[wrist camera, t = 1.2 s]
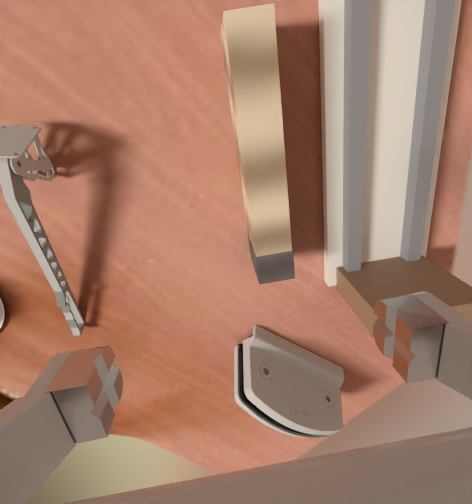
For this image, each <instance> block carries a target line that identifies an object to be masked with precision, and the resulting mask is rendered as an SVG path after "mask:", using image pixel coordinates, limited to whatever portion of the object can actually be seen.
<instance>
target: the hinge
mask: <svg viewBox="0 0 472 504" xmlns="http://www.w3.org/2000/svg"><path fill="white" fill-rule="evenodd" d="M343 382H344V372H343V368H342V367H340V366H338V365H336V364H334V363H332V362H330V361H328V360H326V359H324V358H322V357H320V356H318V355H316V354H314V353H312V352H310V351H308V350H306V349H304V348H302V347H300V346H298V345H296V344H294V343H292V342H290V341H288V340H285V339H283V338H281V337H279V336H277V335H275V334H273V333H271V332H269V331H267V330H265V329H263V328H261V327H259V326H257V325H255V326H254V327H253V336H252V337H250V338H247V339H245V340H243V347H242V346H239V345H237V346H236V347H235V349H234V398H235V401H236V402H237V404H238V405H239V406H240V407H242V408H243V409H244V410H245V411H246V412H247V413H249V414H250V415H251V416H252V417H254V418H255V419H257V420H258V421H260V422H261V423H263V424H265V425H266V426H268V427H270V428H272V429H274V430H276V431H279V432H281V433H284V434H287V435H291V436H296V437H310V438H318V437H324V436H328V435H330V434H334V433H336V432H338V431H339V430H341V429H342V426H343V420H342V406H341V391H340V388H341V386H342V384H343Z"/></svg>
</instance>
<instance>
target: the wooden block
mask: <svg viewBox="0 0 472 504" xmlns="http://www.w3.org/2000/svg"><path fill="white" fill-rule="evenodd" d="M220 35H221V42H222V49H223V56H224V63H225V70H226V78H227V85H228V92H229V99H230V106H231V113H232V121H233V128H234V135H235V142H236V149H237V156H238V164H239V171H240V178H241V185H242V192H243V199H244V206H245V214H246V221H247V228H248V238H249V245H250V252H251V259H252V262H253V265H254V268H255V272H256V275H257V278H258V281H259V284H264V283H270V282H276V281H282V280H287V279H293V278H295V273H294V259H293V251H292V242H291V228H290V215H289V201H288V188H287V174H286V161H285V147H284V133H283V120H282V106H281V93H280V79H279V66H278V52H277V39H276V25H275V11H274V3H272V4H266V5H260V6H253V7H247V8H241V9H234V10H228V11H224V13H223V20H222V27H221V34H220Z"/></svg>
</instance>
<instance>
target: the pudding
mask: <svg viewBox="0 0 472 504" xmlns="http://www.w3.org/2000/svg"><path fill="white" fill-rule="evenodd" d="M4 314H5V312H4V306H3V303H2V301H1V298H0V328H1V327H2V325H3V322H4Z"/></svg>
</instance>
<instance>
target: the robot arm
mask: <svg viewBox="0 0 472 504" xmlns="http://www.w3.org/2000/svg"><path fill="white" fill-rule="evenodd" d="M374 313H375V314H376V316H377V317H378V319H377V320H376V322H375V323H374V324H373V335H374V338H375V342H376V344H377V346H378V348H379V350H380V351H381V352H382V353H383V355H385V356H387V357H389V358H391V359H393V367H394V368H395V369H396V371H397V372H398V373H399V374H400V375H401V377H402V378H403V379H404V380H405V381H406V383H411V382H418V381H424V380H431V379H437V380H438V381H440V382H441V383H443V384H445V385H447V386H449V387H450V388H452V389H454V390H456V391H457V392H459V393H461V394H463V395H464V396H466V397H468V398H470V399H471V400H472V319H471V320H469V319H468V318H466V317H465V316H463V315H462V314H460V313H459V312H457V311H456V310H454V309H453V308H451V307H450V306H448V305H447V304H445V303H444V302H443V301H441V300H440V299H438V298H437V297H435V296H434V295H432V294H431V293H429V292H425V291H423V292H418V293H413V294H408V295H405V296H400V297H394V298H389V299H383V300H378V301H376V302H375V305H374ZM114 358H115V355H114V352H113V350H112V348H111V347H109V346H102V347H96V348H89V349H82V350H75V351H69V352H63V353H58V354H56V355H54V356H53V357H52V358H51V360H50V361H49V362H48V364H47V365H46V367H45V368H44V369H43V371H42V372H41V373H40V375H39V376H38V378H37V379H36V380H35V382H34V383H33V384H32V386H31V387H30V389H29V390H28V391H27V393H26V394H25V395H24V397H21V398H17V399H15V400H14V401H13V402H11V403H10V404H8V405H7V406H5V407H4V408H3V409H1V410H0V504H25V503H26V502H27V501H28V500H29V499H30V497H31V496H32V495H33V494H34V493H35V492H36V491H37V489H38V488H39V487H40V486H41V484H43V482H44V481H45V480H46V479H47V478H48V477H49V476H50V474H51V473H52V472H53V471H54V470H55V469H56V467H57V466H58V465H59V464H60V463H61V462H62V461H63V459H64V458H65V457H66V456H67V455H68V453H69V452H70V451H71V450H72V449H73V448H74V447H75V444H76V443H81V442H86V441H91V440H96V439H100V438H105V437H107V436H108V434H109V431H110V428H111V425H112V422H113V419H114V416H115V414H114V412H113V408H114V407H115V406H116V405H117V404H118V403H119V401H120V398H121V395H122V388H123V380H122V374H121V371H120V368H118V367H117V366H115V365H114V364H112V363H113V361H114ZM65 504H472V427H471V428H466V429H460V430H455V431H450V432H445V433H439V434H433V435H428V436H423V437H418V438H412V439H407V440H401V441H396V442H391V443H386V444H380V445H375V446H369V447H364V448H358V449H353V450H348V451H342V452H337V453H332V454H326V455H322V456H316V457H310V458H305V459H300V460H294V461H289V462H284V463H278V464H273V465H268V466H262V467H257V468H251V469H246V470H241V471H235V472H230V473H225V474H219V475H214V476H209V477H203V478H198V479H193V480H187V481H182V482H177V483H171V484H166V485H161V486H155V487H150V488H145V489H139V490H134V491H129V492H123V493H118V494H113V495H107V496H102V497H97V498H91V499H86V500H81V501H76V502H70V503H65Z"/></svg>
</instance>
